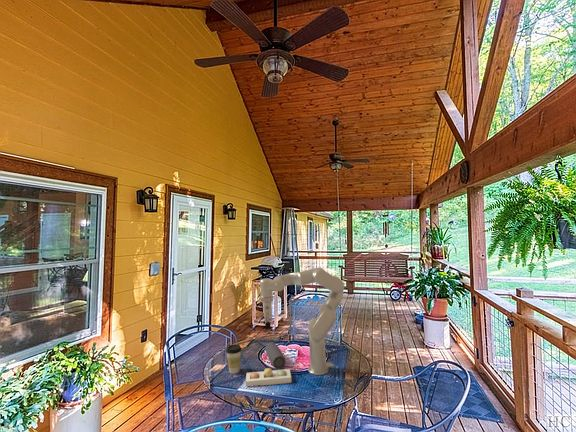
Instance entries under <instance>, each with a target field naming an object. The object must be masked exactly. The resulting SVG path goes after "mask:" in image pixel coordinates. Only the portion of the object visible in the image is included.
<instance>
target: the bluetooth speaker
mask: <svg viewBox="0 0 576 432" xmlns="http://www.w3.org/2000/svg"><path fill="white" fill-rule="evenodd" d="M265 352H266V356H267V358H268V360H269V362H270V363H271V365H272V367H273V368H274V369H276V370H281V369H280V368H282V369H284V368H285V366H286V363H287V361H286V358H285V356H284V353H283V352H282V351H281V348H279V345H277V343H275V342H268V344H267V345H266V346H265Z"/></svg>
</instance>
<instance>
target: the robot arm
mask: <svg viewBox="0 0 576 432" xmlns="http://www.w3.org/2000/svg"><path fill="white" fill-rule="evenodd" d="M314 283H317V284H318V285H320V286H322V287H324V288H325V289H327V290H329V293H328V296H327V297H326V299H325V301H323V303H322V305H321V307H319V308H318V309H319V310H318V315H319V316H318V317H313V318H311V319H310V320H309V322H308V338H309V339H308V341H309V358H310V360H309V361H310V365H309V366H308V367H307V371H308V373H310V374H312V375H316V376H322V375H326V374H327V373H329V368H334V367H335V366H334V365H335V364H334V363H331V362H330V361H329V362H327V359H326V356H327V355H326V340H325V338H326V336H327V335H328V334H329V332H330V330H331V329H332V327H333V326H334V324H335V322H336V320H337V313H336V311H337V309H338V308H339V306H340V304H341V303H342V301H343V298H344V290H345V283H344V281H343V280H342V279H341V278H339V276H336V275H332V274H330V273H329V272H328V271H326V270H325V269H324V268H323V267H315V268H311V269H308V270H307V269H306V270H303V271H302V270H301V271H296V272H291V273H285V274H281V275H277V276H275V277H274V278H273V279H271V278H267V277H266V278H261V279H260V280H259V284H260V285H259V287H260V288H259V289H260V302H261V303H262V311H263V318H264V320H265V322H264V327H265V330H271V328H272V327H271V326H272V325H271V320H272V319H273V307H272V306H273V305H272V303H273V302H274V295H273V292H282V291H283V290H284V289H285V287H287V286H293V285H295V286H306V285H307V286H308V285H310V284H314Z"/></svg>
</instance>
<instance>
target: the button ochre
mask: <svg viewBox="0 0 576 432" xmlns="http://www.w3.org/2000/svg"><path fill="white" fill-rule="evenodd" d="M263 371H264V372H265V377H270V376H272V371H273V370H272V368H270V367H267V368H265V369H264V370H263Z"/></svg>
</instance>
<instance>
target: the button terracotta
mask: <svg viewBox="0 0 576 432" xmlns="http://www.w3.org/2000/svg"><path fill="white" fill-rule="evenodd" d="M255 378H259V376H258V373H252V374H251V379H255Z"/></svg>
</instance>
